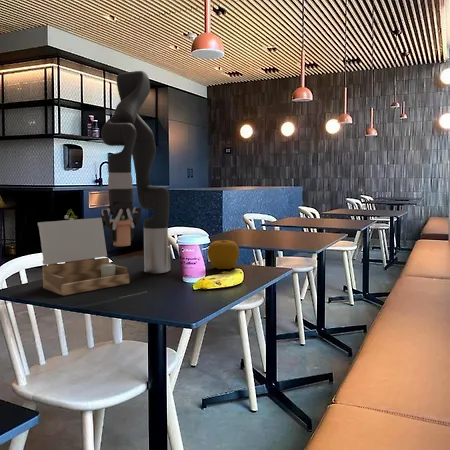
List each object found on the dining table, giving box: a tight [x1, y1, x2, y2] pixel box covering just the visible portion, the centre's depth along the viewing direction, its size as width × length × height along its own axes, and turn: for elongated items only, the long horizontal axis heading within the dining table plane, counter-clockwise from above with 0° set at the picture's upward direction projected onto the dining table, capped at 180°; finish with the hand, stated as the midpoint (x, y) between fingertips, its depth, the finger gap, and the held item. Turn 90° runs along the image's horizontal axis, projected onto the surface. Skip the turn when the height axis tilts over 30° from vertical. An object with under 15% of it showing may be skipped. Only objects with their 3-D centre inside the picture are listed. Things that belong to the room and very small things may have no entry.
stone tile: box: [116, 291, 148, 299], centre depth 159 cm, size 11×11×1 cm
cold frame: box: [41, 257, 131, 296], centre depth 166 cm, size 24×18×18 cm
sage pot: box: [101, 263, 116, 278], centre depth 169 cm, size 5×5×6 cm
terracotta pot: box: [112, 215, 132, 247], centre depth 157 cm, size 6×6×10 cm
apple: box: [207, 239, 240, 270], centre depth 198 cm, size 13×13×11 cm
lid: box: [37, 217, 108, 266], centre depth 170 cm, size 23×14×1 cm
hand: (121, 240), depth 157 cm, fingers closed on terracotta pot, 5 cm apart
